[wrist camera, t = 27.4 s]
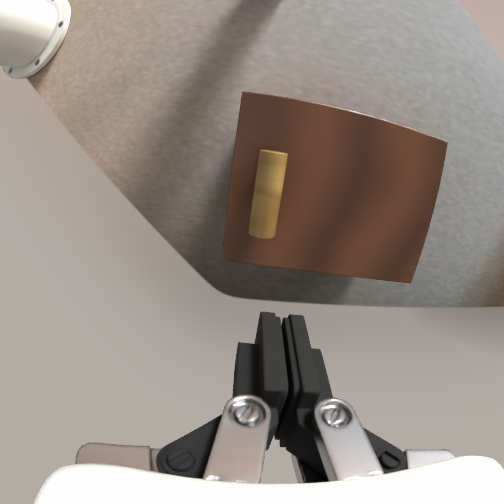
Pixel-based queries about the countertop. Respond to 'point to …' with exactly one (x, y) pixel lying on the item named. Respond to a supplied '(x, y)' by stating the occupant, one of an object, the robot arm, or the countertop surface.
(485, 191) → the countertop surface
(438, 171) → the lid
